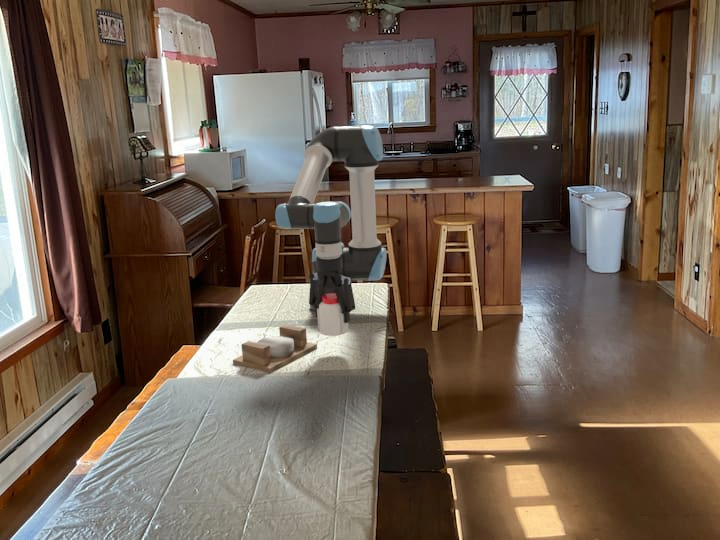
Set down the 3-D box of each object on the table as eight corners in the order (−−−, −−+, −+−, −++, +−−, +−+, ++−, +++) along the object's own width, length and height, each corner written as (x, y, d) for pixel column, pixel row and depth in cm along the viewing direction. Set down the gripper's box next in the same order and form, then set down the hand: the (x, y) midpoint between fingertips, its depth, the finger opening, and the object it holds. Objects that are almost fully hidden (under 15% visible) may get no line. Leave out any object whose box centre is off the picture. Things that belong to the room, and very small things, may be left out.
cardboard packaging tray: (281, 340, 215) (280, 322, 214) (316, 347, 208) (315, 328, 206) (233, 363, 198) (231, 343, 196) (270, 372, 190) (268, 351, 189)
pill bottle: (347, 326, 206) (345, 292, 203) (344, 335, 198) (342, 300, 195) (322, 326, 207) (320, 292, 204) (318, 336, 199) (316, 300, 196)
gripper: (292, 255, 199) (298, 328, 205) (351, 262, 188) (355, 340, 194) (308, 249, 205) (313, 321, 211) (366, 256, 194) (369, 331, 200)
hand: (333, 330), depth 202 cm, fingers closed on pill bottle, 8 cm apart
